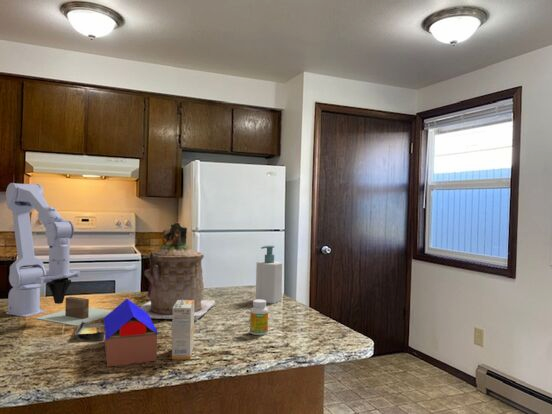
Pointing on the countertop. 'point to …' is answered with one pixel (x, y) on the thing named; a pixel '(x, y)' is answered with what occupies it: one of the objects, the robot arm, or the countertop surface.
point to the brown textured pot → (175, 276)
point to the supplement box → (183, 329)
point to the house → (129, 335)
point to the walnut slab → (77, 307)
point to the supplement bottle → (259, 318)
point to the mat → (61, 318)
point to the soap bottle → (269, 278)
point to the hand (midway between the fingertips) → (58, 303)
